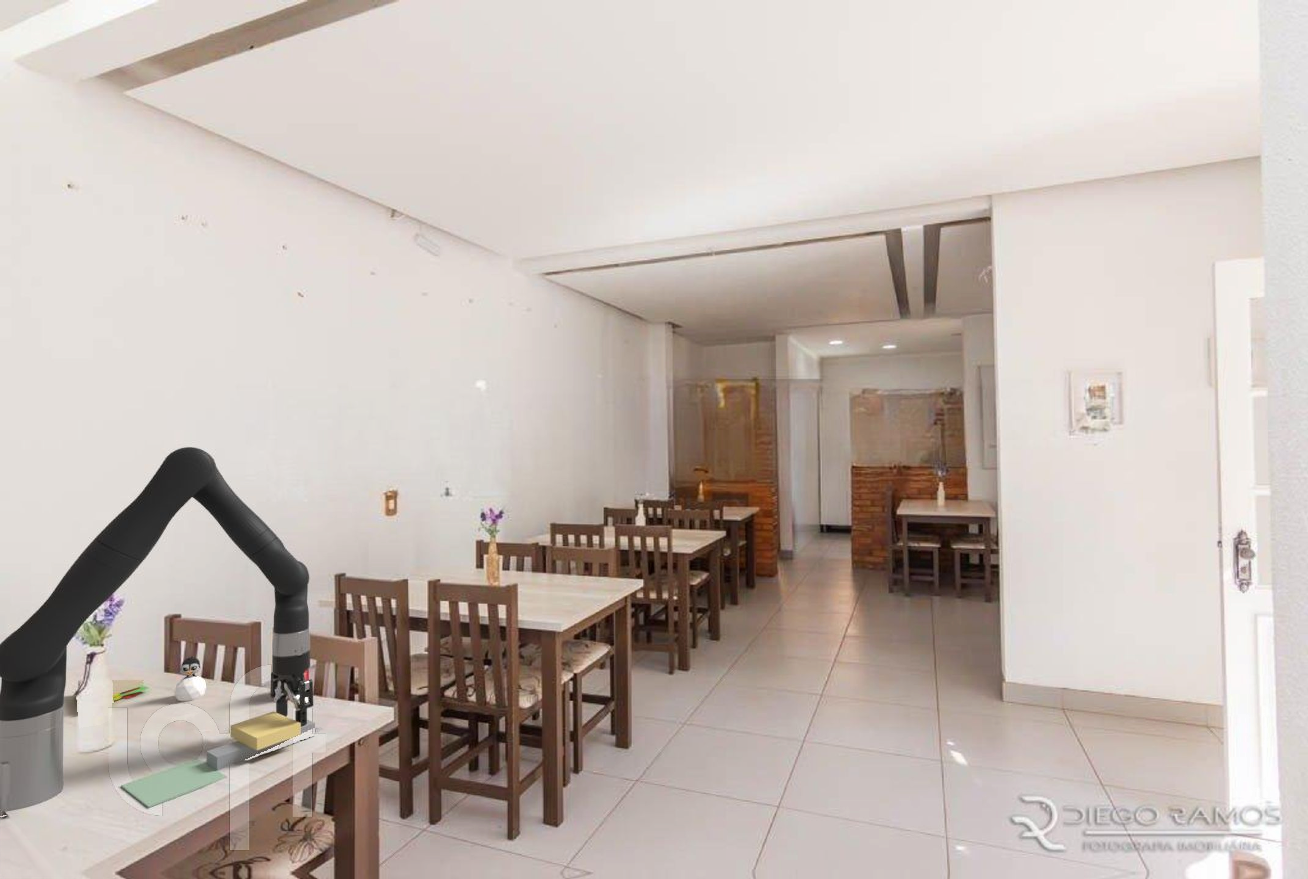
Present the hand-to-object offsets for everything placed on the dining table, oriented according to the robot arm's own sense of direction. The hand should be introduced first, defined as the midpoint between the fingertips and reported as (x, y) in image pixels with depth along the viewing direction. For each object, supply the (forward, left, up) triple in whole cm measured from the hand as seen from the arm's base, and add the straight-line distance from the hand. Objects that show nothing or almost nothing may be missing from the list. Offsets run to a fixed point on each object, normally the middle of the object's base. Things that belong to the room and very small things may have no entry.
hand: (291, 721), depth 147 cm
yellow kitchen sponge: (-6, 0, -1) cm, 6 cm away
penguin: (-3, +46, -4) cm, 46 cm away
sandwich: (-15, +67, -5) cm, 69 cm away
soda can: (+12, +23, -4) cm, 26 cm away
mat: (-23, 0, -4) cm, 23 cm away
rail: (-6, 0, -4) cm, 7 cm away
